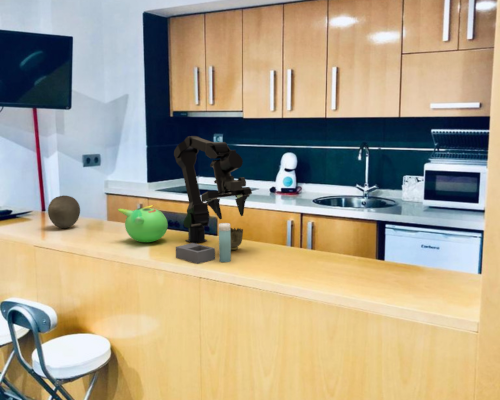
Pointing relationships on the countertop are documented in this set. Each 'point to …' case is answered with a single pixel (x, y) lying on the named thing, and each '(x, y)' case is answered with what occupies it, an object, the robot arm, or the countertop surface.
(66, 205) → the cantaloupe
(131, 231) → the toy bird
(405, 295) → the countertop surface
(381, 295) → the countertop surface
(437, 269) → the countertop surface
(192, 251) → the socket
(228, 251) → the peg
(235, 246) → the cup
